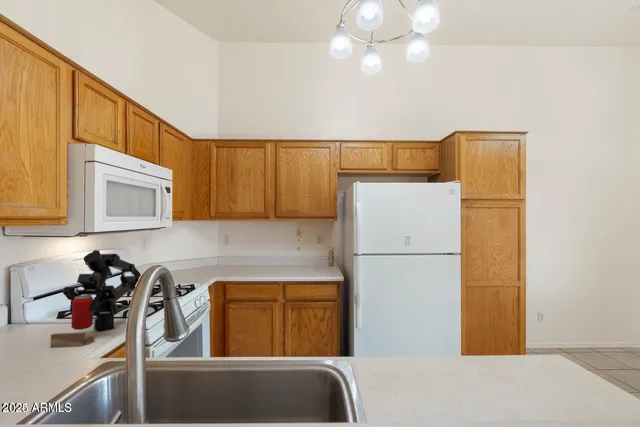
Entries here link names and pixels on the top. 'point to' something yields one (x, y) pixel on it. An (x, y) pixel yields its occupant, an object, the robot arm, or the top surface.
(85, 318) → the beverage can
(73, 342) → the can cradle
